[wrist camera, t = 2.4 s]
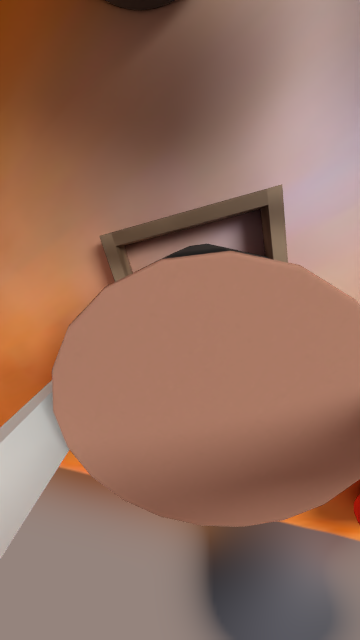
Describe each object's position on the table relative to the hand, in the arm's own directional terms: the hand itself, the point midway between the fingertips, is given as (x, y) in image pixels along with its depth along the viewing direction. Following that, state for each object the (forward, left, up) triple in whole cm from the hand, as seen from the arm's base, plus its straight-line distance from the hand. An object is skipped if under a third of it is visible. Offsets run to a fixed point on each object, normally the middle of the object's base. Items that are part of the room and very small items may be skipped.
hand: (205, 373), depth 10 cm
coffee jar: (0, 0, -15) cm, 15 cm away
